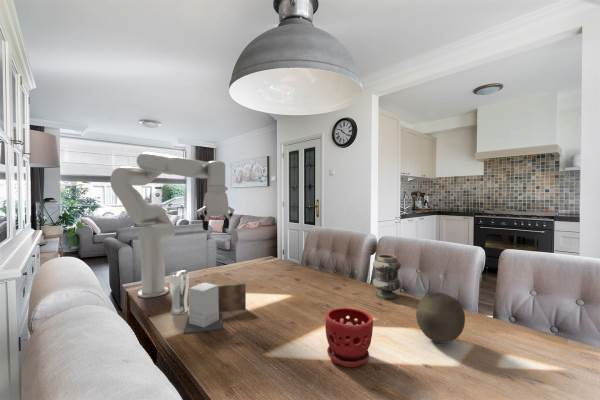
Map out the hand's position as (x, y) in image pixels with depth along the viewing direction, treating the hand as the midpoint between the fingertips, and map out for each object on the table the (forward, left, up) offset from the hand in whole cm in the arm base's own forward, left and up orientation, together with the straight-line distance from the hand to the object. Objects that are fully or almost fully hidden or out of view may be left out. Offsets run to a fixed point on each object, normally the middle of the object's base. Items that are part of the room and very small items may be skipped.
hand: (216, 229), depth 127 cm
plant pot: (+68, +3, -30) cm, 74 cm away
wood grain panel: (+14, -6, -30) cm, 34 cm away
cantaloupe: (+83, +30, -30) cm, 93 cm away
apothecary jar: (+51, +56, -30) cm, 81 cm away
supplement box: (+19, -16, -30) cm, 39 cm away
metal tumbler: (+3, -18, -30) cm, 35 cm away
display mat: (+20, -16, -30) cm, 39 cm away
